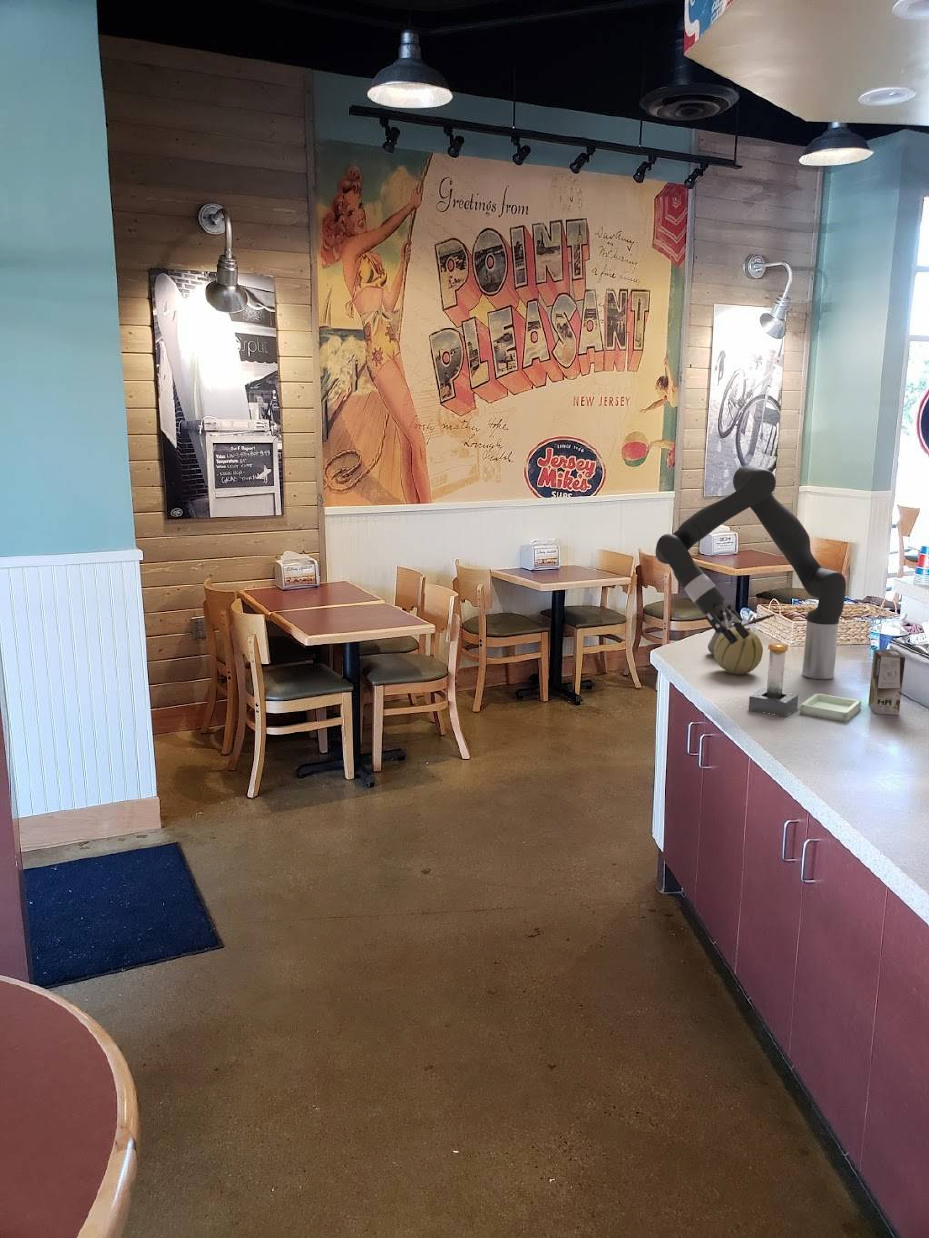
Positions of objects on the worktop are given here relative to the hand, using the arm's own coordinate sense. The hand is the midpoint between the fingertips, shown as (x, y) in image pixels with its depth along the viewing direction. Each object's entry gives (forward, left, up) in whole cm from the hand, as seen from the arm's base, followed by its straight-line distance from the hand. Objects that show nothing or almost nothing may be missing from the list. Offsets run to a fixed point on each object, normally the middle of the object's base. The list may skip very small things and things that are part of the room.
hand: (741, 639), depth 262 cm
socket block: (0, +10, -18) cm, 21 cm away
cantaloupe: (-30, -12, -18) cm, 37 cm away
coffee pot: (-51, -19, -18) cm, 57 cm away
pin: (0, +10, -18) cm, 21 cm away
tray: (-8, +23, -18) cm, 31 cm away
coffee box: (-19, +34, -18) cm, 43 cm away
